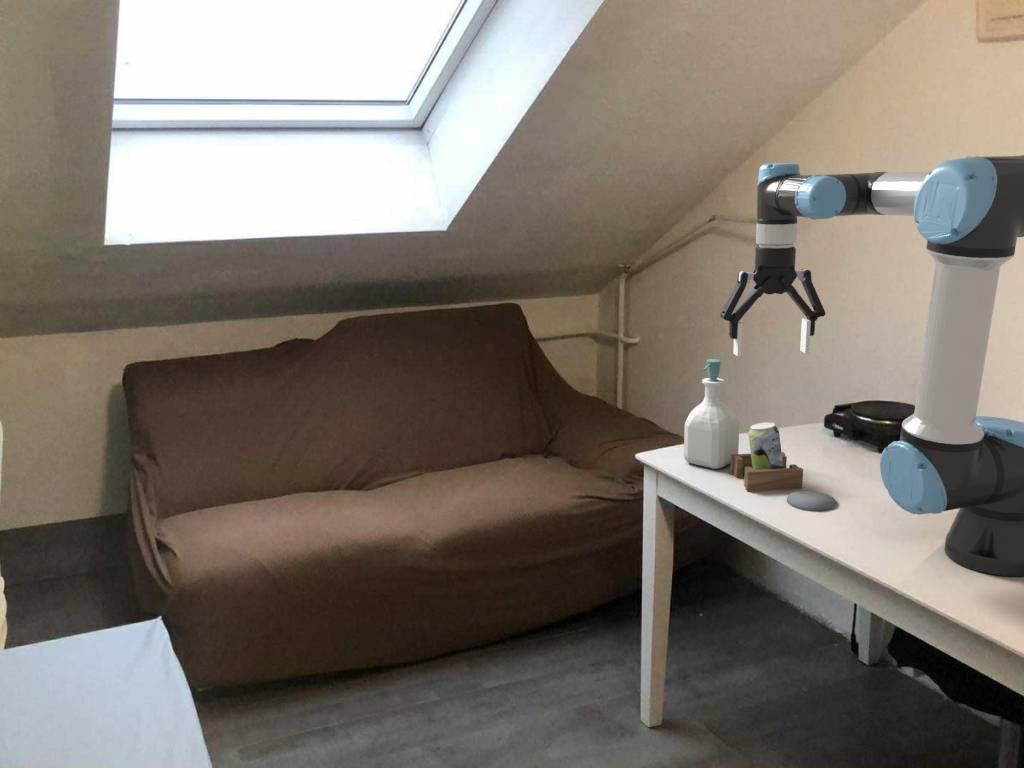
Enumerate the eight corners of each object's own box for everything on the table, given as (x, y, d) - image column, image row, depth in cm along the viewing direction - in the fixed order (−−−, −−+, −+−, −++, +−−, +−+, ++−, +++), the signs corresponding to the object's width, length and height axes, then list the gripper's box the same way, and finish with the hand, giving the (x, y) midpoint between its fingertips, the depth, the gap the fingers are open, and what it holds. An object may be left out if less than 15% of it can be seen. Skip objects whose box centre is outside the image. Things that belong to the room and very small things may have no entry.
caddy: (802, 488, 191) (803, 469, 190) (747, 491, 190) (747, 472, 189) (782, 470, 202) (783, 451, 201) (730, 472, 201) (730, 454, 200)
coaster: (843, 509, 180) (843, 506, 179) (796, 512, 179) (797, 509, 179) (824, 492, 188) (824, 489, 188) (779, 495, 188) (780, 492, 187)
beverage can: (784, 486, 192) (787, 429, 189) (747, 484, 194) (749, 428, 191) (782, 476, 198) (785, 420, 195) (746, 474, 200) (748, 419, 197)
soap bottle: (679, 463, 207) (681, 360, 202) (703, 452, 214) (705, 352, 209) (719, 472, 201) (722, 367, 195) (742, 461, 208) (745, 358, 202)
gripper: (831, 241, 189) (824, 346, 194) (706, 245, 187) (703, 351, 192) (846, 245, 182) (840, 354, 187) (717, 249, 180) (714, 360, 185)
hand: (770, 353), depth 190 cm, fingers open, 13 cm apart
